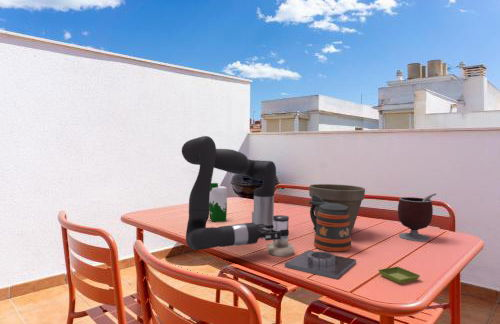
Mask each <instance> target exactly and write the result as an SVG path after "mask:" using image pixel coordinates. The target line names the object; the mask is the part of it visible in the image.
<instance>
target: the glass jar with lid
mask: <svg viewBox="0 0 500 324" xmlns="http://www.w3.org/2000/svg"><path fill="white" fill-rule="evenodd" d="M289 217H290V216H288V215H283V214H282V215H281V214H277V215H274V216H273V229H274V230H285V229H287V230H289V220H290V218H289ZM275 235H277V234H275ZM272 243H273V246H274V247H277V248H286V247H288V243H289V235H288V236H281V239H276V240H273V241H272Z"/></svg>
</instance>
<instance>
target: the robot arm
mask: <svg viewBox="0 0 500 324" xmlns="http://www.w3.org/2000/svg"><path fill="white" fill-rule="evenodd" d="M216 146H217V145H216V143H215V141H214V139H213V138H212V137H210V136H207V135H201V136H199V137H196V138H192V139H189V140H187V141H186V142H185V143H183V145H182V147H181V154H182V156H183V157H182V158H184V160H185V161H186V162H187V163H190V164H191V165H197V166H199V169H198V173H197V177H196V179H195V181H194V184H193V185H192V189H191V190H190V193H189V198H188V221H187V226H186V230H185V231H186V232H185V242H186V245H187V247H188V248H189V249H191V250H193V251H200V250H201V251H202V250H207V249H208V250H209V249H213V248H218V247H219V248H222V247H223V248H225V247H233V246H234V247H235V246H236V247H238V246H246V245H248V246H249V245H254V244H257V243H258V242H259V240H260V239H261V240H263V239H264V240H265V241H272V240H276V239H281V236H288V237H289V232H290V231H289V229H288V230H287V229H285V230H274V229H273V216H275V212H274V211H275V209H274V208H275V190H276V179H277V166H276V164H275V162H274V161H271V160H255V159H254V160H253V159H249V158H248V156H247V155H246V154H245V153H243V152H241V151H240V152H239V151H237V150H236V149H235V150H234V149H229V148H217V147H216ZM215 169H217V170H220V171H223V172H224V171H225V172H226V173H230V174H235V175H242V176H246V177H249V178H250V179H252V180H255V181H262V185H261V186H259V187H256V188H255V189H254V190H253V211H252V212H251V222H246V223H236V224H232V225H222V226H217V227H215V226H213V227H212V226H211V227H207V222H208V220H209V219H210V214H209V198H210V187H211V183H212V180H213V174H214V170H215ZM275 234H277V235H275Z"/></svg>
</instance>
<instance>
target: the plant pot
mask: <svg viewBox="0 0 500 324" xmlns="http://www.w3.org/2000/svg"><path fill="white" fill-rule="evenodd" d="M308 190H309V191H308V194H309V197H311V199H312V198H313V195H314V194H316V195H318V196H320V197H321V198H322V199H323V202H328V203H337V204H342V205H345V206H347V207H349V210H348V213H349V221H350V225H349V228H350V236H351V234H352V233H353V230H354V227H355V224H356V220H357V217H358V214H359V211H360V208H361V205H362V202H363V200H365V194H366V188H365V187H362V186H357V185H349V184H334V183H332V184H331V183H330V184H329V183H323V184H321V183H319V184H316V183H315V184H310V185H309V187H308ZM318 210H319V207H318V206H316V207H315V209H314V214H315V216H316V217H317V213H318Z"/></svg>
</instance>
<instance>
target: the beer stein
mask: <svg viewBox="0 0 500 324" xmlns="http://www.w3.org/2000/svg"><path fill="white" fill-rule="evenodd" d="M308 203H309V205H311V206H310V209H309V215H310V219H311V220H310V221H311V222H312V224H313V230H314V242H313V246H314V247H316V248H317V249H319V250H320V251H323V252H329V253H331V252H332V253H341V252H342V253H345V252H348V251H350V250H351V249H352V236H351V235H350V228H349V225H350V221H349V213H348V210H349V207H347V206H345V205H342V204H337V203H328V202H323V199H322V198H321V197H320V196H318V195H316V194H314V195H313V198H311V200H309V201H308ZM316 206H318V207H319V210H318V213H317V217H316V216H315V212H314V209H315V207H316Z"/></svg>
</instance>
